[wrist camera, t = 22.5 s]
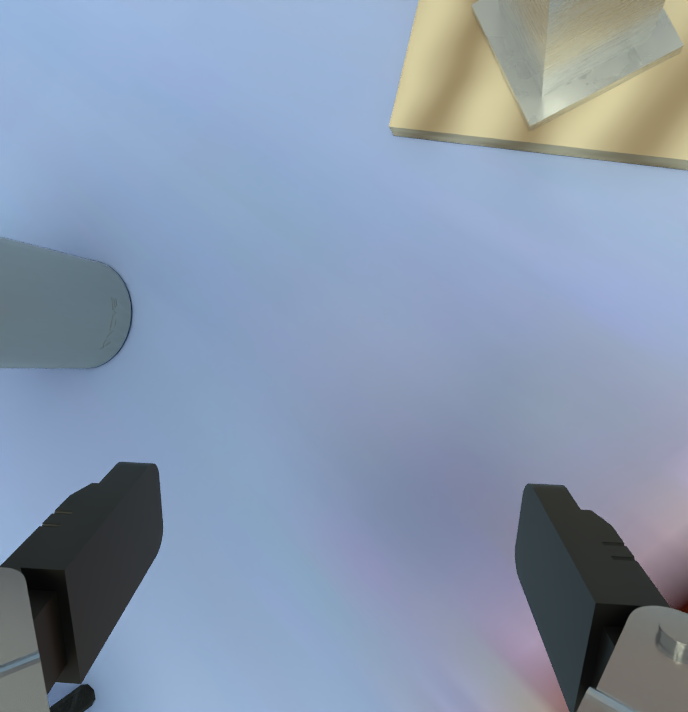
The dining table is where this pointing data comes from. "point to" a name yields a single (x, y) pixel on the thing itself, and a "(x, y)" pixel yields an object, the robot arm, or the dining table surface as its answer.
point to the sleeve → (572, 48)
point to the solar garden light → (75, 700)
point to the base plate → (501, 114)
